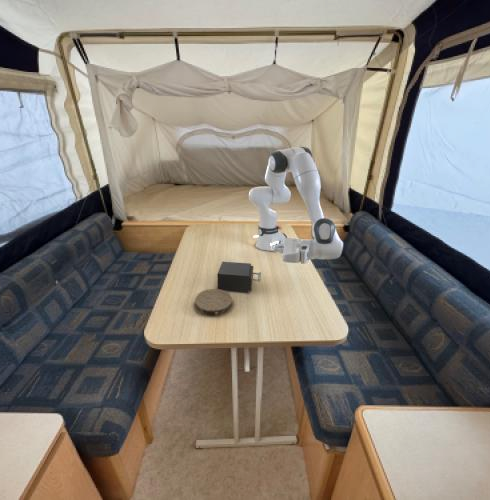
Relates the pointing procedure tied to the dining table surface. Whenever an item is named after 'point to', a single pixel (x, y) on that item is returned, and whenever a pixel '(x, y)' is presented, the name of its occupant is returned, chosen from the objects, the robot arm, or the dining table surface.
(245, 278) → the cabinet
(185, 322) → the dining table surface
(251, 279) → the drawer
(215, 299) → the round wood slice
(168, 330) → the dining table surface
